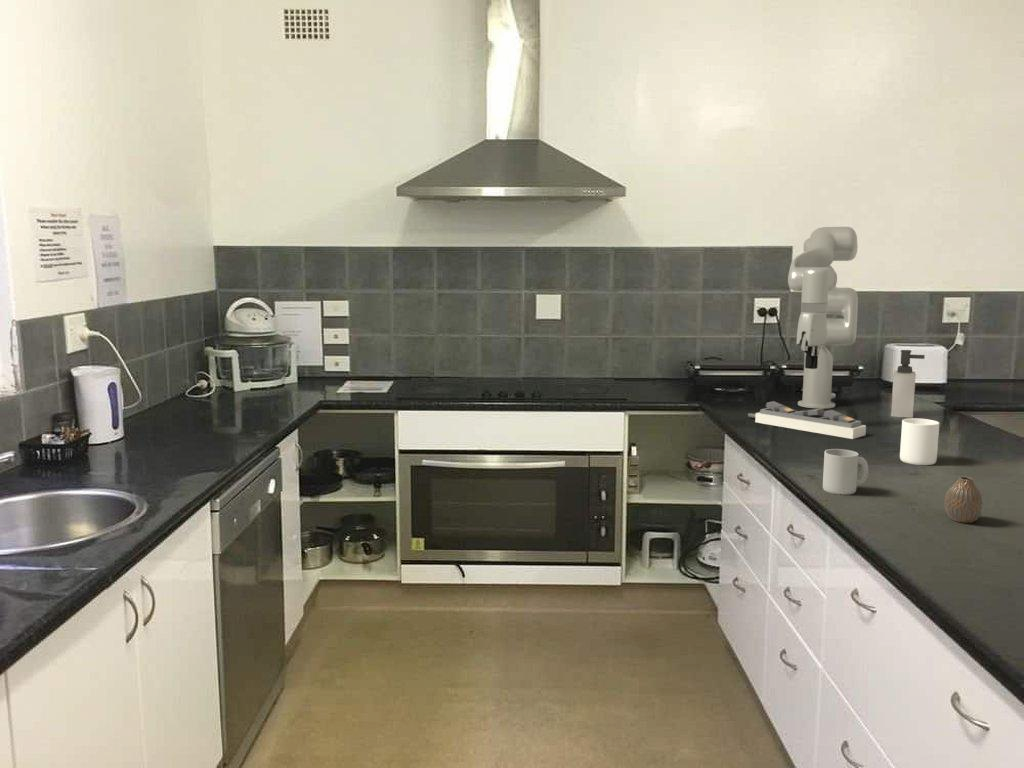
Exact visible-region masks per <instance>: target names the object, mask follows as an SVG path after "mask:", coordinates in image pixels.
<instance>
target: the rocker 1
mask: <svg viewBox="0 0 1024 768" xmlns="http://www.w3.org/2000/svg"><path fill="white" fill-rule="evenodd" d="M765 408H770V409H772V410H775V411H776V412H782V413H793V412H795V411H796V410H795V409H793V408H790V407H789V406H786V404H781V403H780V402H776V401H774V400H773V401H769V402H768V401H767V402H766V404H765Z"/></svg>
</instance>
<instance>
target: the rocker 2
mask: <svg viewBox="0 0 1024 768" xmlns="http://www.w3.org/2000/svg"><path fill="white" fill-rule="evenodd" d="M824 412H825V409H824V408H823V409H816V408H809V409H807V410H800V411H799V412H795V413H794V414H795V415H801V416H810V415H823V414H824Z"/></svg>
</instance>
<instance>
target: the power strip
mask: <svg viewBox="0 0 1024 768" xmlns="http://www.w3.org/2000/svg"><path fill="white" fill-rule="evenodd" d="M795 412H799V411H798V410H795ZM795 412H793V413H782V412H776V411H775V410H772V409H770V408H768V407H765V408H761V409H760V410H759V412H755V413H751V412H749V413H747V417H749V418H753V419H755V420H754V422H755V423H759V424H763V425H769V426H776V427H781V428H787V429H792V430H798V431H805V432H810V433H816V434H821V435H826V436H832V437H833V436H834V437H839V438H844V439H848V440H849V439H850V440H855V439H858V438H861V437H865V436H866V431H867V426H866V425H865V424H862V420H858V419H857V420H856V419H855V422H851V423H846V422H839V421H834V420H833V419H831V418H828V417H826V416H823V415H824V414H818V415H810V416H801V415H795V414H794V413H795Z"/></svg>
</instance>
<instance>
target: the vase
mask: <svg viewBox="0 0 1024 768" xmlns="http://www.w3.org/2000/svg"><path fill="white" fill-rule="evenodd" d="M984 504H985V502H984V497H983V494H982V492H981V490H980V489H979V488H978V486H977V485H976V484H975V481H974V479H973V478H972V477H970V476H960V477H958V478H957V480H956V481H955V482H954V483H953V484H952V485H951V486H950V487H949V488H948V490H947V491H946V494H945V497H944V510H945V512H946V514H947V515H948V517H949V518H950V519H951V520H952V521H955V522H957V523H961V524H962V523H963V524H971V523H974V522H975V521H977V520H978V519H979V518H980V517H981V516H982V514H983V511H984Z"/></svg>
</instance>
